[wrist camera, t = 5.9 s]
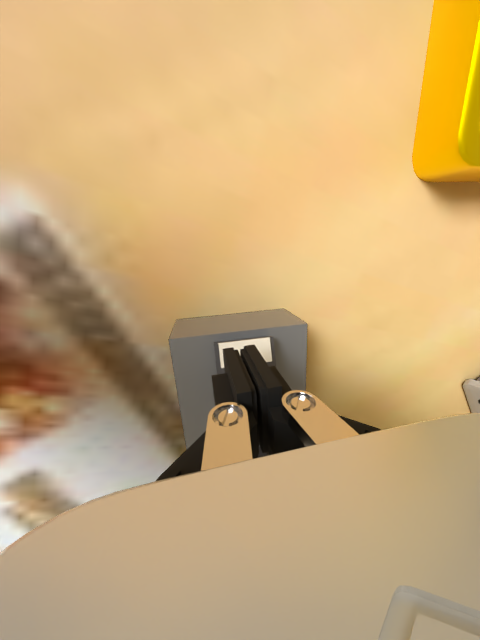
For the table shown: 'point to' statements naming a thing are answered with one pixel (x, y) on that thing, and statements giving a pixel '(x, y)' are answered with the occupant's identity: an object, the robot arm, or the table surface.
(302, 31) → the table surface
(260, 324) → the switch housing
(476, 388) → the electrical switch
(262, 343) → the rocker
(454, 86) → the element tile
